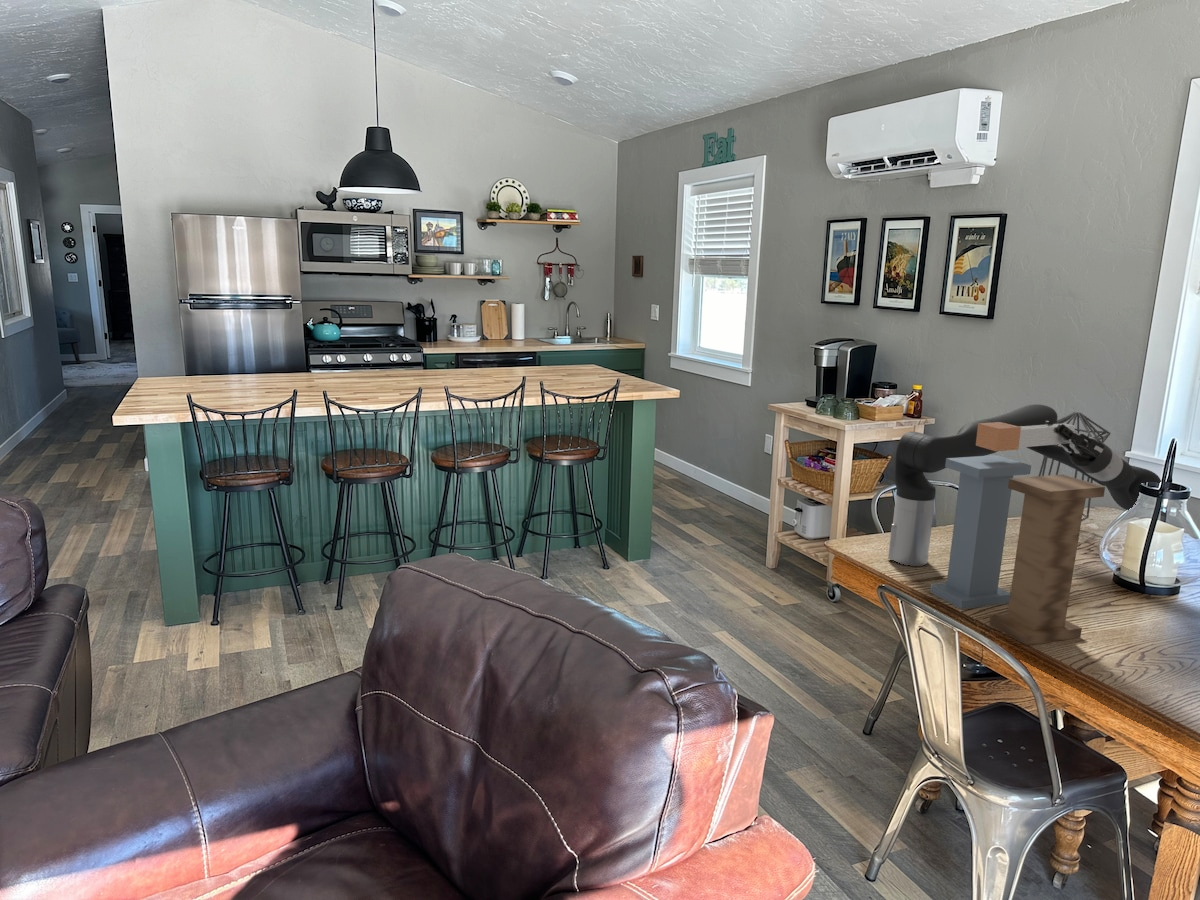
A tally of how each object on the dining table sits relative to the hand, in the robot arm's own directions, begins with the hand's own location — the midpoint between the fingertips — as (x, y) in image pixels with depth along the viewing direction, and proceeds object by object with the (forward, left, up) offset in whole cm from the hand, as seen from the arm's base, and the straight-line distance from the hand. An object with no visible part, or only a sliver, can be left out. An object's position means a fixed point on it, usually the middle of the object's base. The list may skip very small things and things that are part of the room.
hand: (1051, 426), depth 182 cm
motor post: (-12, -12, -39) cm, 43 cm away
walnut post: (+1, -25, -39) cm, 46 cm away
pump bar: (-5, -4, -4) cm, 8 cm away
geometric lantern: (+9, +57, -40) cm, 70 cm away
